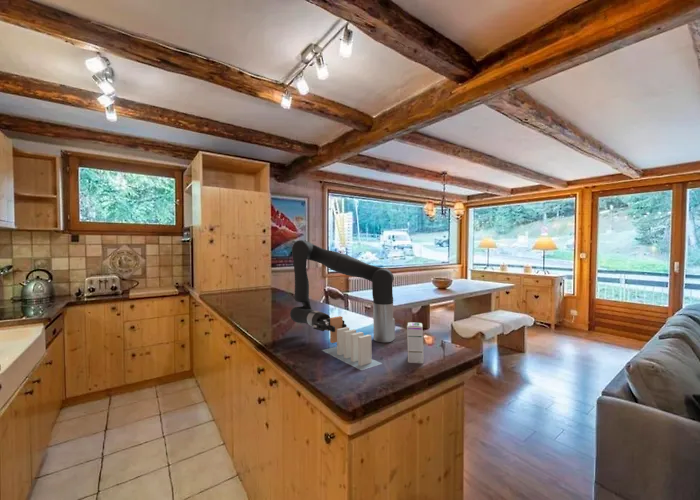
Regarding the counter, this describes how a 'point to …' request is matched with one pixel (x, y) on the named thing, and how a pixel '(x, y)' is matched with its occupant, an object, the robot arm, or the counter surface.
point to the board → (355, 364)
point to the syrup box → (415, 342)
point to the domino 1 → (338, 324)
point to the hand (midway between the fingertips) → (340, 328)
